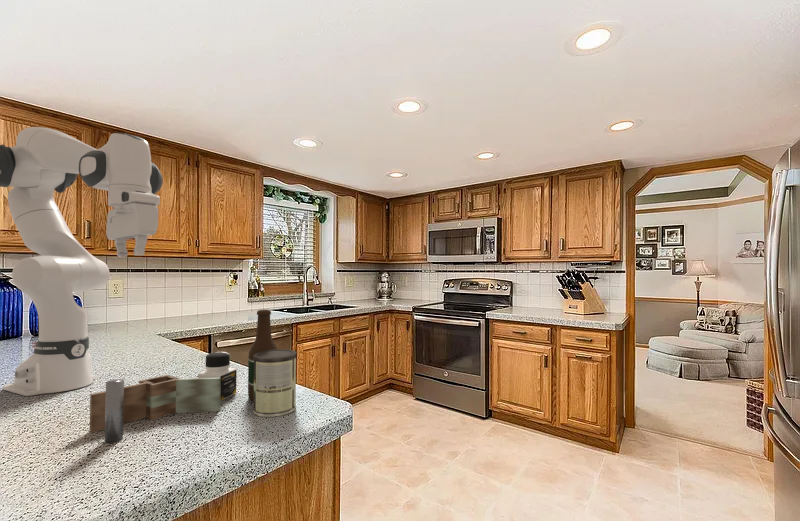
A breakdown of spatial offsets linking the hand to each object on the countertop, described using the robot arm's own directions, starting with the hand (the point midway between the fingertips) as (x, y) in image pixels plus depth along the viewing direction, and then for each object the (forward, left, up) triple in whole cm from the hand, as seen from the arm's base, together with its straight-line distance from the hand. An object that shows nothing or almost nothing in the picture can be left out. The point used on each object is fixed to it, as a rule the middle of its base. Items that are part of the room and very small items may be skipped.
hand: (130, 256), depth 96 cm
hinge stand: (+9, 0, -38) cm, 39 cm away
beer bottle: (+25, +19, -38) cm, 49 cm away
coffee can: (+33, +12, -38) cm, 52 cm away
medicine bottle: (+12, +17, -38) cm, 44 cm away
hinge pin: (+11, -12, -38) cm, 41 cm away
